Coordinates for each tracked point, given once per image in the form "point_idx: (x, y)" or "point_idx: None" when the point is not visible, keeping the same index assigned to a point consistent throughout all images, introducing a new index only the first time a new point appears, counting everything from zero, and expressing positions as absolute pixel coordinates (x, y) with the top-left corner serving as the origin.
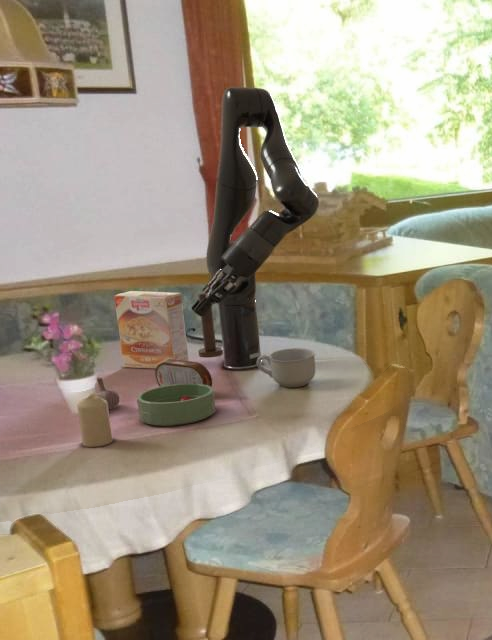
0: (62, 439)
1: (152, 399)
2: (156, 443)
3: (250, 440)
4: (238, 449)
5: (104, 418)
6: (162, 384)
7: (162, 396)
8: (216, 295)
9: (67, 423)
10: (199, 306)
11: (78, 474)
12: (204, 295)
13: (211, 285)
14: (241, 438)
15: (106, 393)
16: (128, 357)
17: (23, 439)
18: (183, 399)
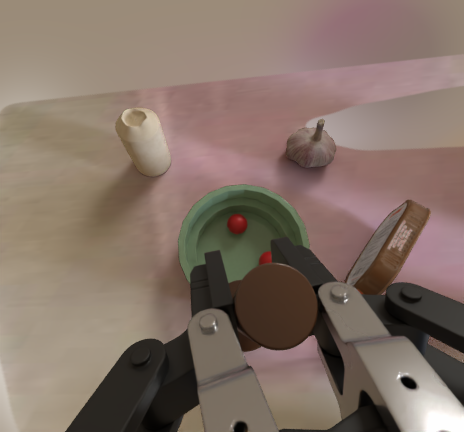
0: (188, 125)
1: (275, 209)
2: (112, 230)
3: (44, 382)
4: (5, 360)
5: (128, 151)
6: (389, 218)
7: (288, 222)
8: (334, 391)
9: (257, 123)
10: (206, 276)
11: (33, 154)
12: (234, 306)
13: (244, 389)
14: (66, 364)
15: (304, 144)
16: None
17: (206, 91)
18: (264, 257)
